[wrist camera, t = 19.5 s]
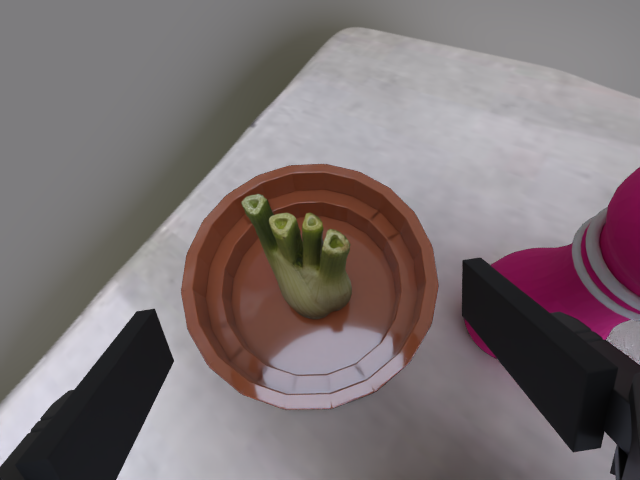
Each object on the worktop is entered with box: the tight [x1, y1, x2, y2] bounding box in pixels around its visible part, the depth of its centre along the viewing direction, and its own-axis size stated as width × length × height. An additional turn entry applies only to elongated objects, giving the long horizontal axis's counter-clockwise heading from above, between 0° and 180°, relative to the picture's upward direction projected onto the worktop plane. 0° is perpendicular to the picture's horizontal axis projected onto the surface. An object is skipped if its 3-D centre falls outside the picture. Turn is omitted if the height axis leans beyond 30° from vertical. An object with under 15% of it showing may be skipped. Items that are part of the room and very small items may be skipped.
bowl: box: [181, 164, 439, 410], centre depth 25 cm, size 17×17×6 cm
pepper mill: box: [464, 167, 640, 359], centre depth 17 cm, size 7×7×20 cm
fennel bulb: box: [241, 194, 352, 319], centre depth 21 cm, size 6×5×12 cm
